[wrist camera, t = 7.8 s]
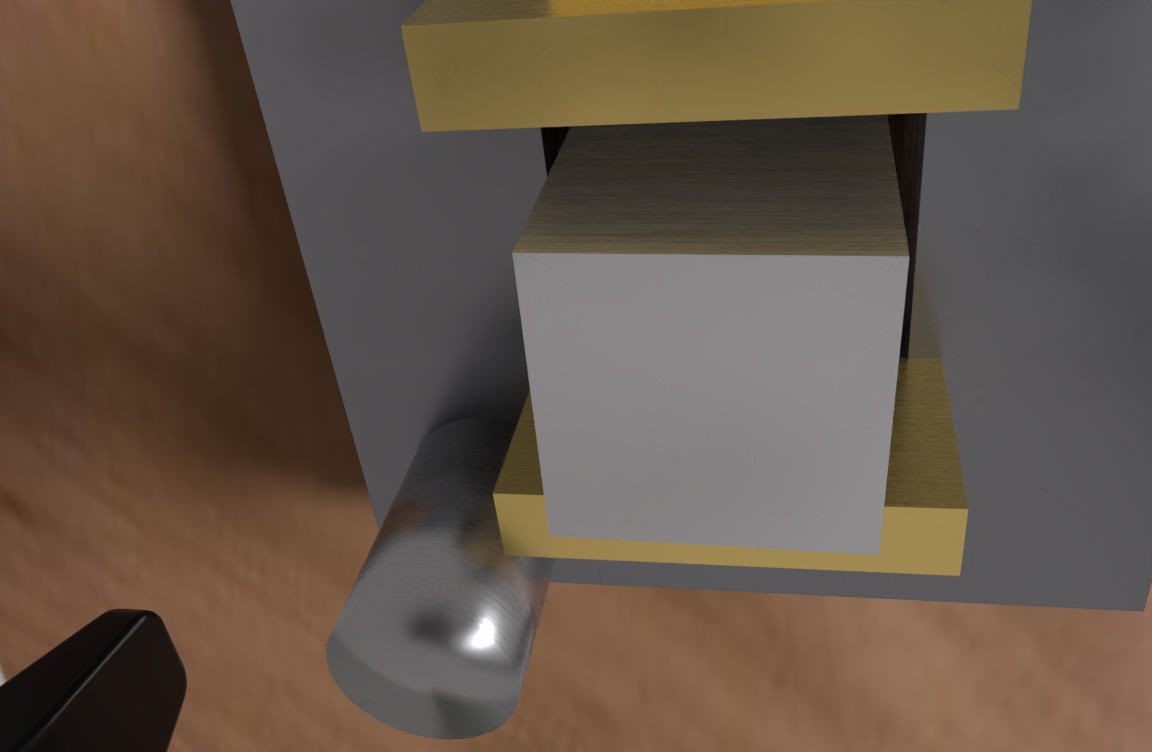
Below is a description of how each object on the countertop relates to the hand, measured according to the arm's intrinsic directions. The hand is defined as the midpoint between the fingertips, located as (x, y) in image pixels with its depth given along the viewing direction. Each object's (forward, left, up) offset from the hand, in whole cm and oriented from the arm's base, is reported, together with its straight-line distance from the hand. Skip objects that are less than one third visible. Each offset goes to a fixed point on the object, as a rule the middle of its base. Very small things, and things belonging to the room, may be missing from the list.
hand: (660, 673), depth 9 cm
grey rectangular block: (0, 0, -12) cm, 12 cm away
